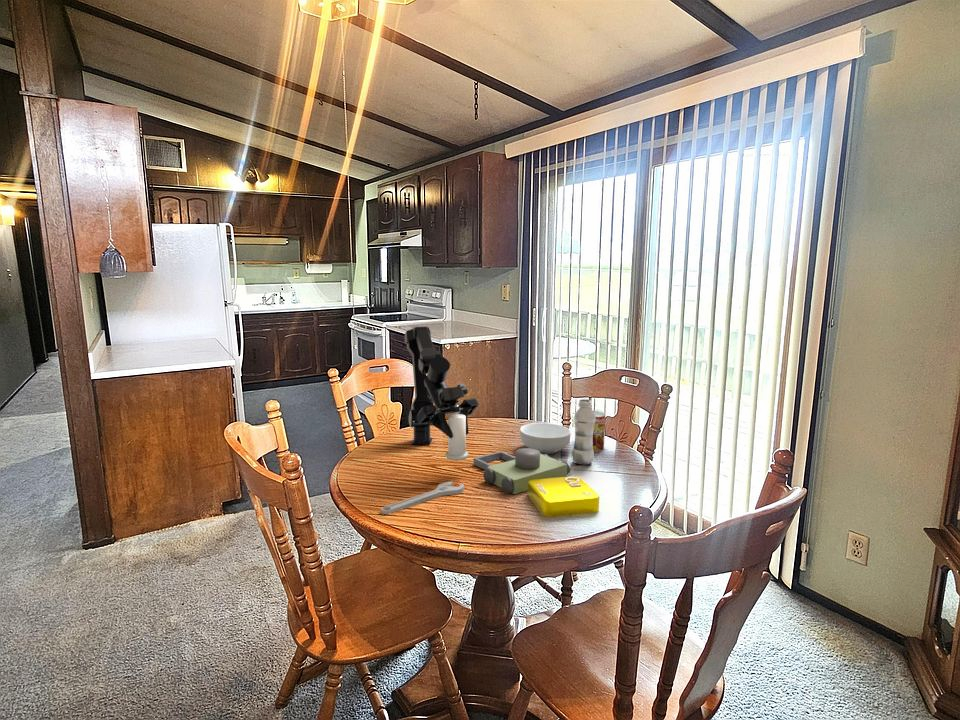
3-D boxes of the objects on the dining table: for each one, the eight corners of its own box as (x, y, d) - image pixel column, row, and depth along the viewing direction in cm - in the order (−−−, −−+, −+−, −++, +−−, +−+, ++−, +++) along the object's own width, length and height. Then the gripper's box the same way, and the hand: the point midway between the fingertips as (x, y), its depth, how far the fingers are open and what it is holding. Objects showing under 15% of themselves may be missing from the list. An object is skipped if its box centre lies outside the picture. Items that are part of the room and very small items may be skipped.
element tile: (525, 494, 146) (526, 477, 146) (577, 489, 150) (578, 473, 149) (544, 519, 132) (544, 500, 131) (601, 513, 135) (602, 495, 134)
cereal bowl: (558, 462, 170) (559, 440, 169) (510, 453, 178) (511, 432, 177) (577, 446, 184) (578, 426, 183) (532, 439, 192) (532, 419, 191)
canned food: (601, 453, 178) (603, 417, 176) (577, 449, 181) (579, 415, 179) (605, 446, 185) (607, 411, 183) (582, 443, 188) (584, 409, 186)
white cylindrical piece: (447, 452, 160) (447, 413, 158) (468, 453, 160) (469, 413, 158) (444, 460, 154) (444, 419, 152) (467, 460, 154) (467, 419, 152)
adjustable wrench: (384, 518, 132) (384, 511, 132) (372, 508, 137) (372, 502, 137) (467, 492, 147) (467, 486, 147) (454, 484, 152) (454, 478, 152)
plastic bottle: (568, 460, 171) (570, 399, 167) (587, 458, 173) (589, 397, 169) (577, 468, 165) (580, 403, 161) (597, 465, 167) (600, 402, 163)
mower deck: (458, 468, 164) (458, 442, 163) (514, 453, 177) (515, 429, 176) (510, 495, 145) (511, 466, 143) (569, 476, 158) (570, 450, 156)
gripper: (421, 379, 151) (443, 426, 144) (475, 371, 162) (498, 415, 155) (407, 400, 158) (427, 447, 151) (460, 392, 169) (481, 435, 162)
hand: (459, 435), depth 155 cm, fingers closed on white cylindrical piece, 5 cm apart
